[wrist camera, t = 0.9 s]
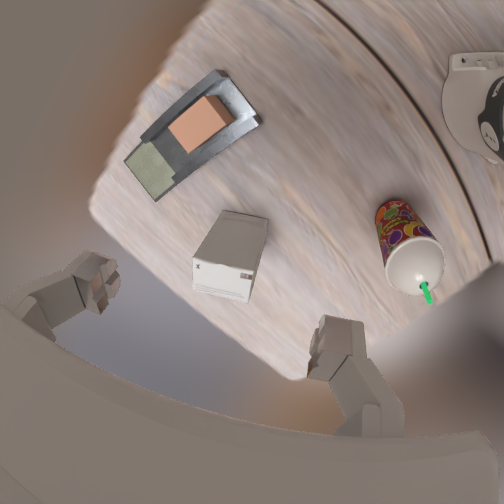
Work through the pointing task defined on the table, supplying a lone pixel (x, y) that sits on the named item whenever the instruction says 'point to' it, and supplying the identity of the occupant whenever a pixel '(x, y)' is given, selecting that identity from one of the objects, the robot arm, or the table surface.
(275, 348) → the table surface
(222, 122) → the block
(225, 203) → the table surface
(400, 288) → the smoothie
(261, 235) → the skincare box
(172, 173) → the chute
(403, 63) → the table surface
